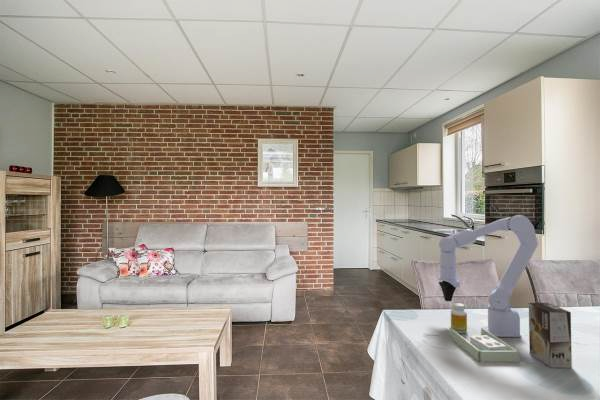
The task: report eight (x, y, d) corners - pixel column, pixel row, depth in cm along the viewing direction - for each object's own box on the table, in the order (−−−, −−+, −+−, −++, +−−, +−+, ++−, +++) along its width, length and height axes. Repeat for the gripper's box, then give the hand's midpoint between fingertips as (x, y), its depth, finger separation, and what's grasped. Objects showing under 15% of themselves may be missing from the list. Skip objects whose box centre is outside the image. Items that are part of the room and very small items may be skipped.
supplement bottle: (469, 334, 111) (468, 307, 111) (453, 332, 112) (452, 306, 112) (464, 328, 116) (464, 302, 117) (449, 327, 117) (448, 301, 118)
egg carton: (486, 347, 101) (486, 332, 101) (506, 359, 93) (506, 343, 93) (470, 348, 100) (470, 334, 100) (489, 360, 92) (489, 345, 92)
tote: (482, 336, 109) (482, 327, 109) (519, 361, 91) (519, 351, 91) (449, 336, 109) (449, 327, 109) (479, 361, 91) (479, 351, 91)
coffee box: (573, 368, 88) (572, 312, 88) (550, 368, 88) (550, 311, 88) (548, 353, 97) (547, 302, 97) (527, 352, 97) (527, 302, 97)
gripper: (430, 263, 130) (430, 295, 130) (446, 270, 115) (446, 306, 115) (446, 263, 130) (446, 295, 130) (465, 270, 116) (465, 306, 115)
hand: (448, 300), depth 122 cm, fingers closed
